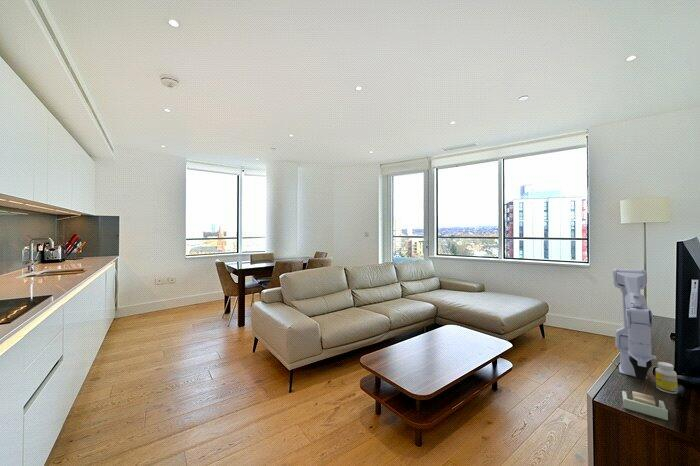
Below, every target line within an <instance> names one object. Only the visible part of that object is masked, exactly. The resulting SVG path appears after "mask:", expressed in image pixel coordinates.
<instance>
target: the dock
mask: <svg viewBox="0 0 700 466" xmlns="http://www.w3.org/2000/svg"><path fill="white" fill-rule="evenodd" d="M621 392H622V393H621V396H622V403H623V404H622V405H623V408H624V409H627V410H631V411H634V412H637V413H641V414H644V415H648V416H652V417H654V418H659V419H662V420H666V421H668V420H669V414H668V413H669V411H668V409H667V408H666V405H665V403H664V401H663V400H658V406H652V405H649V404H645V403H641V402H638V401H634V400H633V399H629V398H628V396H627V391H624V390H622V391H621Z"/></svg>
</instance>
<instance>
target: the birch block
mask: <svg viewBox="0 0 700 466" xmlns="http://www.w3.org/2000/svg"><path fill="white" fill-rule="evenodd" d="M631 393H632V400H634V401H638V402H641V403H645V404H649V405H652V406H656V401H655V398H654V395H649V394H645V393H641V392H638V391H635V390H634V391H633V390H632V392H631ZM656 407H657V406H656Z"/></svg>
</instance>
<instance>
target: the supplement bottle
mask: <svg viewBox="0 0 700 466" xmlns="http://www.w3.org/2000/svg"><path fill="white" fill-rule="evenodd" d="M654 370H655V372H654V374H655V388H656V389H658V390H659V391H660V392H661V391H662V392H664V393H667V394H672V395H673V394H675V395H676V394H678V390H679V388H678V387H679V386H678V375H677V372H676V371H675V370H674V365H673V364H672V363H670V362H666V361H665V362H664V361H658V362H657V367H656V368H655V369H654Z"/></svg>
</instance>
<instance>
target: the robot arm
mask: <svg viewBox="0 0 700 466" xmlns="http://www.w3.org/2000/svg"><path fill="white" fill-rule="evenodd" d="M647 273H648V272H647V271H646V270H645V269H630V268H629V269H627V268H626V269H624V268H623V269H622V268H614V269H613V271H612V274H613V275H612V276H613V285H614V287H615V288H617V289H620V292H621V294H622V295H621V296H622V297H621V298H622V315H623V316H622V318H623V326H621V327H619V328H618V329H615V335H614V340H615V341H614V343H615V348H617V349H619V357H620V358H619V359H620V361H619V363H620V364H618V368H619V374H623V375H627V376H631V377H635V378H636V380H640V381H643V382H645V381H646V380H648V376H647V375H648V372H649V370H650V368H652V367H653V366H652V365H653V363H652V360H657V356H656V355H654V354H653V355H652V337H651V334H652V331H651V327H652V326H653V322H654V321H653V320H654V319H653V318H654V317H653V313H652V310H651V308H650V307H649V306H648V302H647V298H646V297H645V296H644V295H643V294H641V290H644V289H645V288H646V285H647V283H648V274H647Z"/></svg>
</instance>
